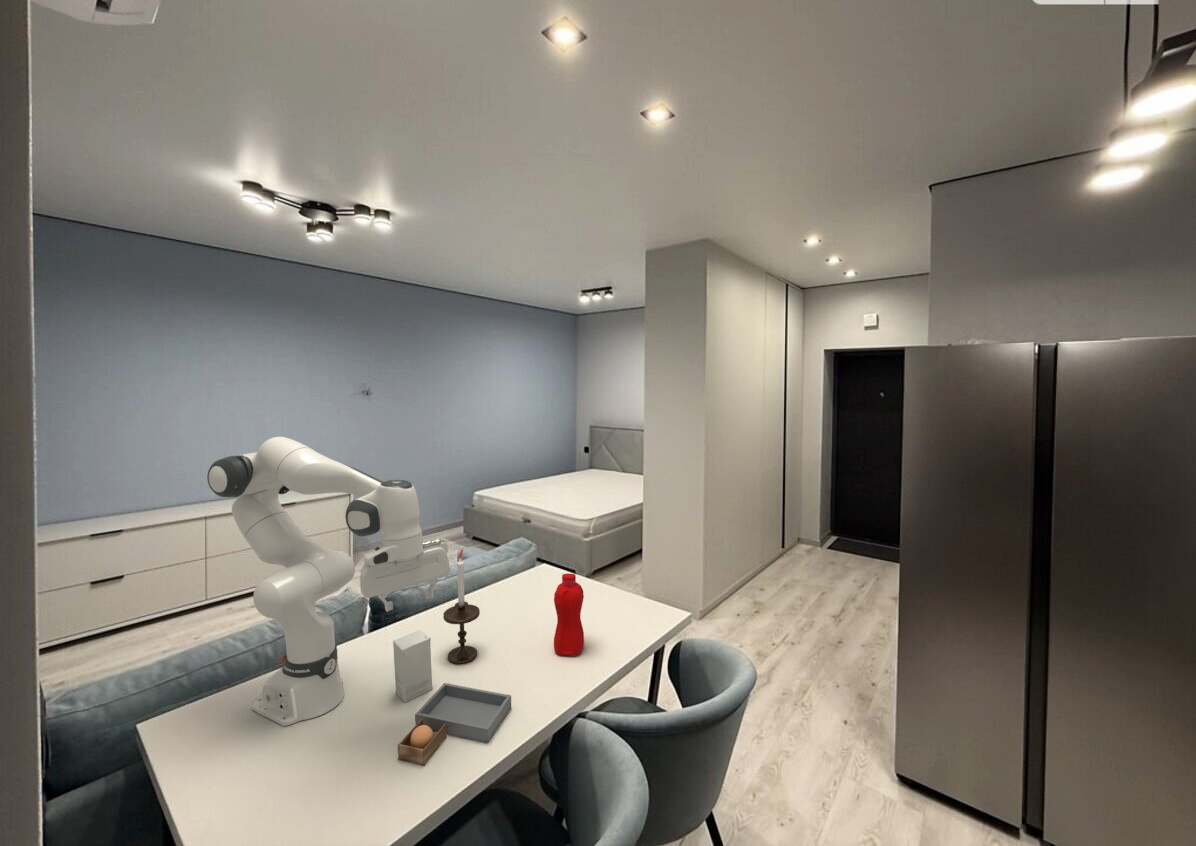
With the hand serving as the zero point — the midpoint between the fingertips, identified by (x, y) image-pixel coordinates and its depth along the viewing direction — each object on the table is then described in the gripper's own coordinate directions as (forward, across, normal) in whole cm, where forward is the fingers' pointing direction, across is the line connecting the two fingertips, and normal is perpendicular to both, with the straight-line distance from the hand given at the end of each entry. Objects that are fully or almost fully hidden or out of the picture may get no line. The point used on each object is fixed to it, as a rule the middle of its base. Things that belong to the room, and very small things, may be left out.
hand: (410, 603), depth 118 cm
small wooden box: (+33, +2, +4) cm, 34 cm away
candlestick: (+31, -20, -28) cm, 46 cm away
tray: (+33, -10, -1) cm, 35 cm away
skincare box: (+32, -3, -19) cm, 37 cm away
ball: (+30, +2, +4) cm, 31 cm away
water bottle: (+34, -50, -12) cm, 62 cm away
